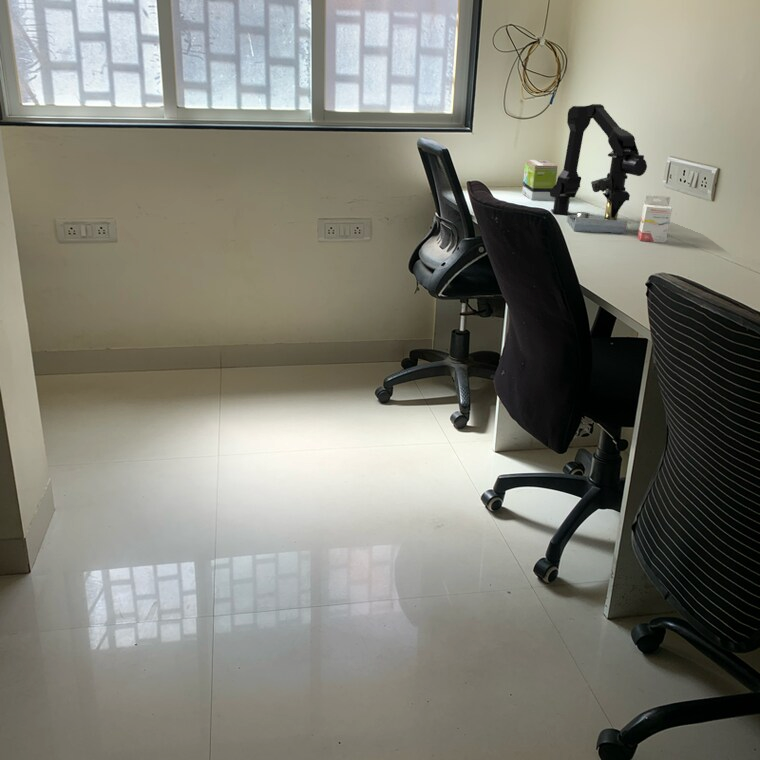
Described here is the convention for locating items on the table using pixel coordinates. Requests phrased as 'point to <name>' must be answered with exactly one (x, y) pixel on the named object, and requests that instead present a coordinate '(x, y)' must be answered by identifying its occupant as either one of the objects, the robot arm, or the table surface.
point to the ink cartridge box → (655, 219)
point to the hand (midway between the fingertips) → (611, 215)
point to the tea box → (539, 179)
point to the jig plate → (597, 224)
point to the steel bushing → (583, 215)
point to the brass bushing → (609, 212)
